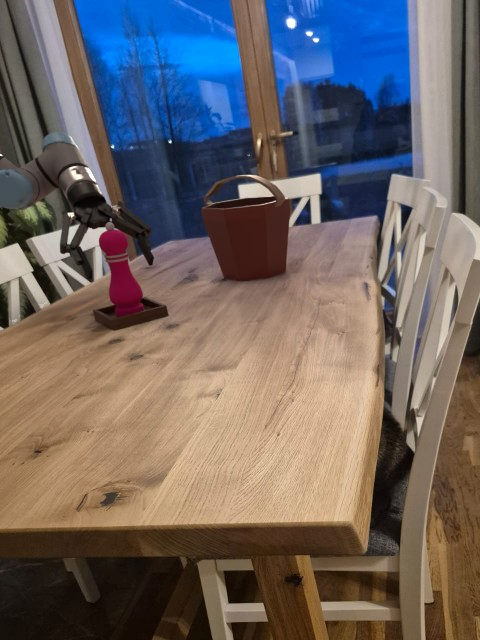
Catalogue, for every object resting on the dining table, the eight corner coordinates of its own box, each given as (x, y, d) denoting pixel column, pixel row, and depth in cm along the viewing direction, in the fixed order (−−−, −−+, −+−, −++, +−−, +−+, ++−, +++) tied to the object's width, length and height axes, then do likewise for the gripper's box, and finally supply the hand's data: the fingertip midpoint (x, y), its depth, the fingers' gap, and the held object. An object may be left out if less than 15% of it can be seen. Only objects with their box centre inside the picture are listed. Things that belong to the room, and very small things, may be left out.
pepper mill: (138, 307, 134) (118, 218, 126) (152, 312, 129) (132, 220, 121) (109, 315, 130) (85, 224, 122) (122, 321, 125) (98, 226, 117)
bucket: (198, 277, 161) (181, 182, 151) (260, 259, 174) (248, 171, 163) (251, 287, 144) (235, 180, 133) (315, 267, 156) (306, 168, 146)
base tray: (95, 319, 132) (92, 310, 131) (147, 306, 138) (144, 296, 137) (113, 330, 122) (111, 320, 121) (168, 315, 128) (166, 305, 127)
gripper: (23, 188, 119) (62, 269, 114) (137, 173, 132) (178, 245, 127) (25, 214, 126) (63, 291, 121) (134, 196, 138) (172, 266, 133)
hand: (122, 268), depth 124 cm, fingers open, 13 cm apart
